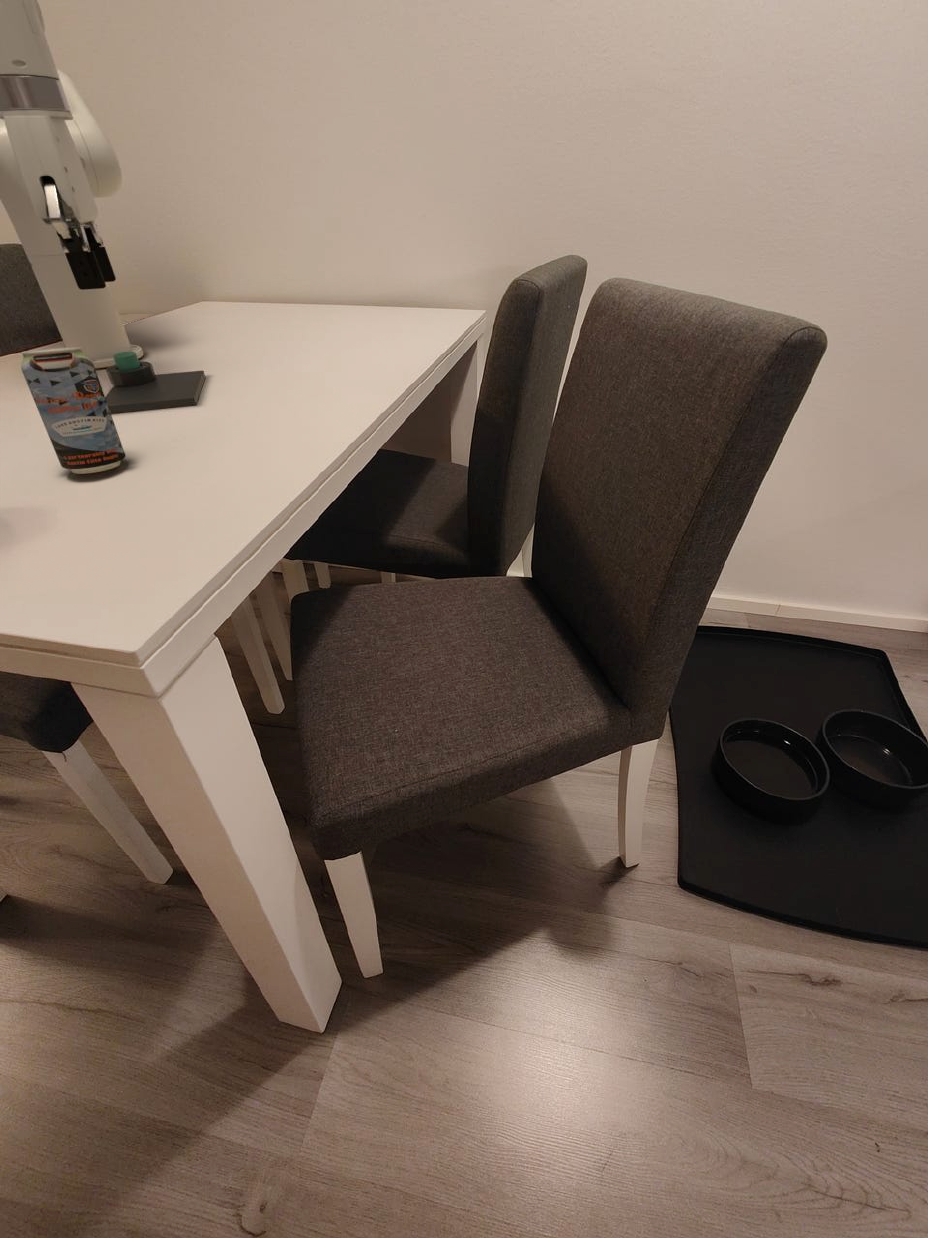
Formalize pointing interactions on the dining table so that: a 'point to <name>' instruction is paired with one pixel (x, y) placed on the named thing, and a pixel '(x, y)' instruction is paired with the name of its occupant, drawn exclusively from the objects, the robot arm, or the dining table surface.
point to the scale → (151, 389)
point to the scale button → (126, 360)
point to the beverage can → (73, 409)
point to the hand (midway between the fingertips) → (98, 283)
